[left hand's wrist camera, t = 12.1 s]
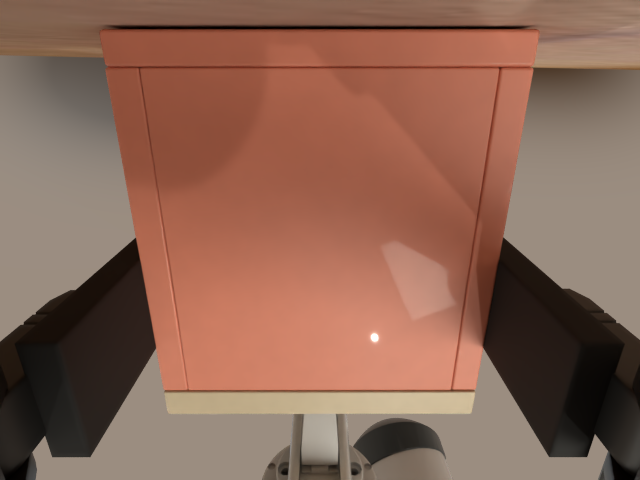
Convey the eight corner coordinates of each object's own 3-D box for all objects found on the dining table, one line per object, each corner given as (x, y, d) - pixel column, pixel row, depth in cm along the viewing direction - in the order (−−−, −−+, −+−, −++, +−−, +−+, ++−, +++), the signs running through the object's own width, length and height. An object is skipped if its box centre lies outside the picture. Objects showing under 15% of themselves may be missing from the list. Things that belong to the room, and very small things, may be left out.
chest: (406, 57, 21) (394, 226, 25) (232, 58, 21) (244, 226, 25) (542, 28, 8) (476, 390, 12) (96, 28, 8) (162, 390, 12)
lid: (392, 222, 26) (384, 334, 29) (247, 222, 26) (255, 334, 29) (476, 392, 12) (443, 571, 15) (163, 392, 12) (195, 571, 15)
